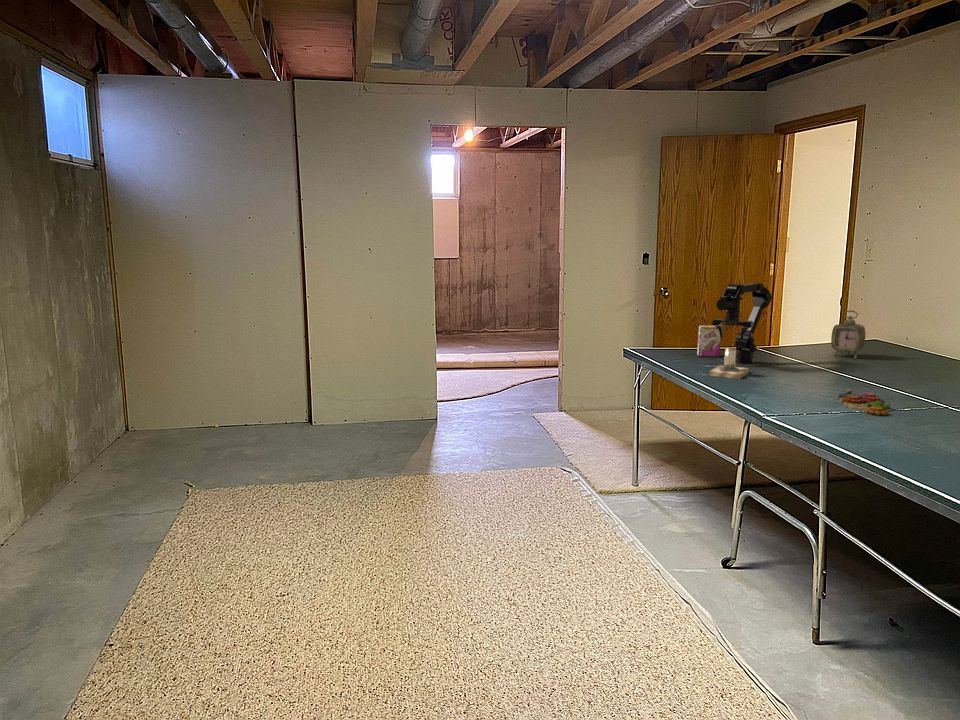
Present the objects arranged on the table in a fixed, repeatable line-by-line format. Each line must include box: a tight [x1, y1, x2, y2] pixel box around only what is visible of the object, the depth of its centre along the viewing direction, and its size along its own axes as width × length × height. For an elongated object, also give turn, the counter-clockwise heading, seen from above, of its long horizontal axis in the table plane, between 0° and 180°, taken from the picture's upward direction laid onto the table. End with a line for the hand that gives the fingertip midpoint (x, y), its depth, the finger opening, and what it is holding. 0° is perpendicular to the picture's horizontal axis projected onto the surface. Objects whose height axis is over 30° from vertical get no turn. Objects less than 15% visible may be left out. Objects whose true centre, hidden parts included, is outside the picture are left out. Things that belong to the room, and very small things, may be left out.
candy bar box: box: [696, 325, 722, 358], centre depth 377 cm, size 11×5×16 cm, turn 84°
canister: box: [723, 346, 737, 370], centre depth 330 cm, size 5×5×10 cm
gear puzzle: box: [835, 388, 892, 416], centre depth 271 cm, size 31×16×4 cm, turn 165°
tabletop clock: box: [830, 310, 866, 359], centre depth 372 cm, size 14×9×25 cm, turn 43°
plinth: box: [708, 365, 750, 380], centre depth 331 cm, size 14×18×2 cm
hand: (731, 340), depth 349 cm, fingers open, 9 cm apart
